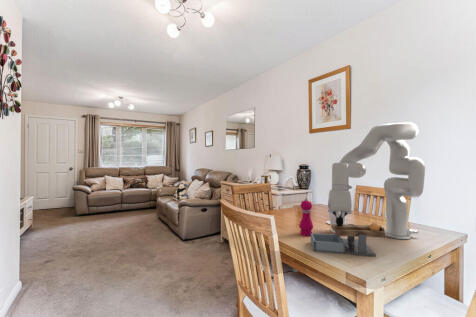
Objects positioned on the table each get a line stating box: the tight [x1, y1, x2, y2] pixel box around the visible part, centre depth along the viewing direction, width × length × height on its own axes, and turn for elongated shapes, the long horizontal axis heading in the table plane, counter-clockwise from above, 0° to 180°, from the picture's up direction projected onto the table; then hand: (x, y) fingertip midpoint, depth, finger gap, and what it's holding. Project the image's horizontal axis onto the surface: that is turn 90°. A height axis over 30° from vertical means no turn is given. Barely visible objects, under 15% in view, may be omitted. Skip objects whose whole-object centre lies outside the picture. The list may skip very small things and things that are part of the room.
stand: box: [341, 223, 377, 258], centre depth 106 cm, size 10×18×9 cm, turn 169°
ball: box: [370, 222, 381, 231], centre depth 101 cm, size 4×4×4 cm
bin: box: [310, 232, 346, 255], centre depth 105 cm, size 13×12×4 cm
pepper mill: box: [298, 197, 314, 237], centre depth 125 cm, size 7×7×20 cm
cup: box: [328, 211, 347, 234], centre depth 129 cm, size 9×9×12 cm
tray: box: [330, 224, 386, 238], centre depth 106 cm, size 19×15×4 cm
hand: (339, 225), depth 111 cm, fingers closed
